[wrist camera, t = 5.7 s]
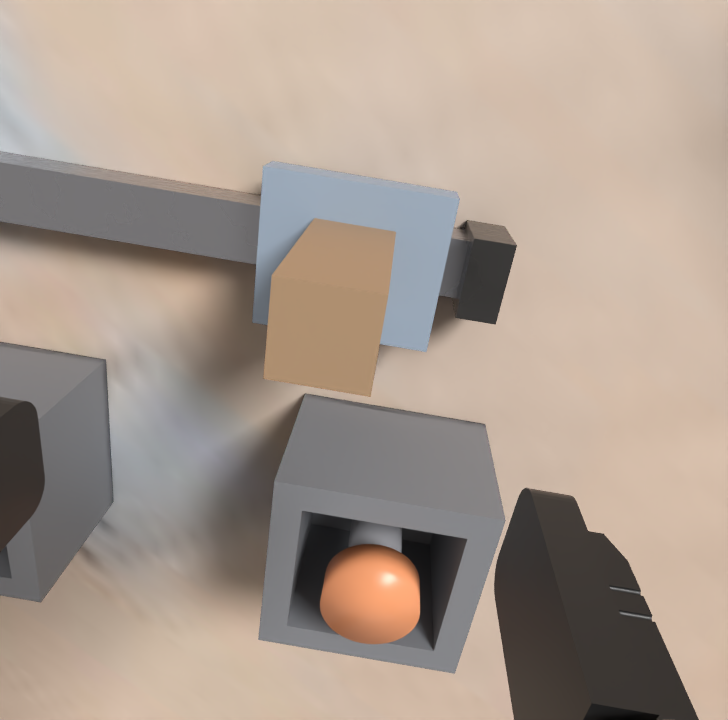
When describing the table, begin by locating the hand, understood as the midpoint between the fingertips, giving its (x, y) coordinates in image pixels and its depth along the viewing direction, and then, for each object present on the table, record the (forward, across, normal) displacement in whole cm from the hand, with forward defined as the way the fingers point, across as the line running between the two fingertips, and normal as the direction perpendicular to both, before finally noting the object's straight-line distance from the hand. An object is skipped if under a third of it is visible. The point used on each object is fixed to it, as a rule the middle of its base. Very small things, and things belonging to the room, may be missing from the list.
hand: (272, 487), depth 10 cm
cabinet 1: (+17, -3, +13) cm, 21 cm away
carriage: (+17, 0, 0) cm, 17 cm away
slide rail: (+17, +7, 0) cm, 18 cm away
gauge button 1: (+16, -3, +13) cm, 21 cm away
